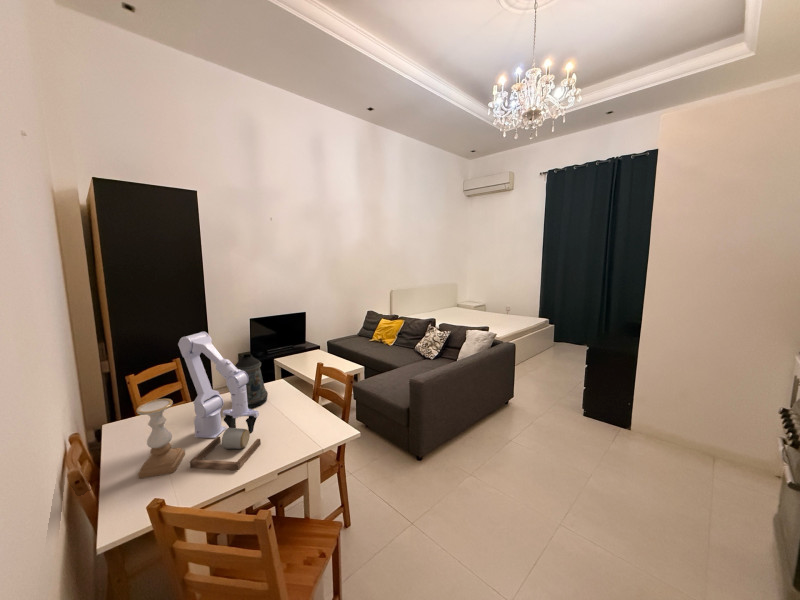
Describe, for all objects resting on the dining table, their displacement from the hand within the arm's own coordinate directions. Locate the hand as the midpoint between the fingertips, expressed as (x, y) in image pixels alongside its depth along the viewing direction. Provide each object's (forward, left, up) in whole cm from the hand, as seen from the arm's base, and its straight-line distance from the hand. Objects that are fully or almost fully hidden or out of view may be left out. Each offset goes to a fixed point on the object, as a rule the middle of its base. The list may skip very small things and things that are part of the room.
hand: (242, 431), depth 129 cm
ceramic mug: (0, -4, -4) cm, 5 cm away
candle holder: (-20, -18, -4) cm, 27 cm away
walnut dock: (0, -10, -3) cm, 10 cm away
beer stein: (-16, +31, -4) cm, 35 cm away
